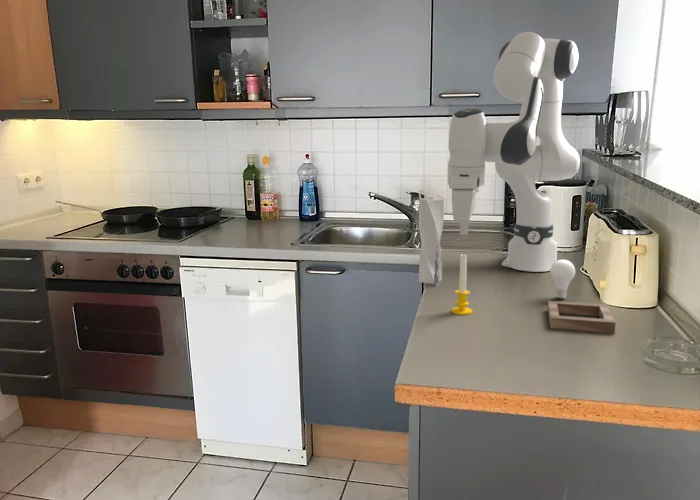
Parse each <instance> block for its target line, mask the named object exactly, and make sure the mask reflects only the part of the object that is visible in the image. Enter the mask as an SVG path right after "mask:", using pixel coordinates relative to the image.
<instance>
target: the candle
mask: <svg viewBox="0 0 700 500" xmlns="http://www.w3.org/2000/svg"><path fill="white" fill-rule="evenodd" d="M467 258H468V257H467V254H465V252H463V253H461V254H460V258H459V259H460V260H459V285H458V289H457V290H455V291H454V293H455V294H457V301H456V302H455V305H456V307H453V308H452V309H451V313H452V312H453V313H452V314H454V313H455V314H454V315H457V314H458V315H459V316H468V315H472V313H473V309H472V308H469V307H467V306H469V304H470V303H469V301H467V299H468V297H467V295H469V294H471V291H470V290H467V266H468V265H467V263H468V262H467V261H468V259H467ZM458 315H457V316H458Z"/></svg>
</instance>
